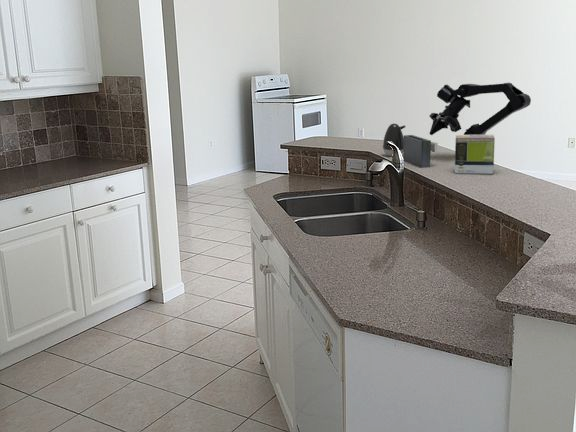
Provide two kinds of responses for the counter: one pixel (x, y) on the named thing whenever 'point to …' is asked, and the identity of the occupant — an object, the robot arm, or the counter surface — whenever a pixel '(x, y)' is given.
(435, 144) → the ivory button
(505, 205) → the counter surface
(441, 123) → the robot arm
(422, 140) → the button panel
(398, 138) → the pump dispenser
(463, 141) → the tea box
